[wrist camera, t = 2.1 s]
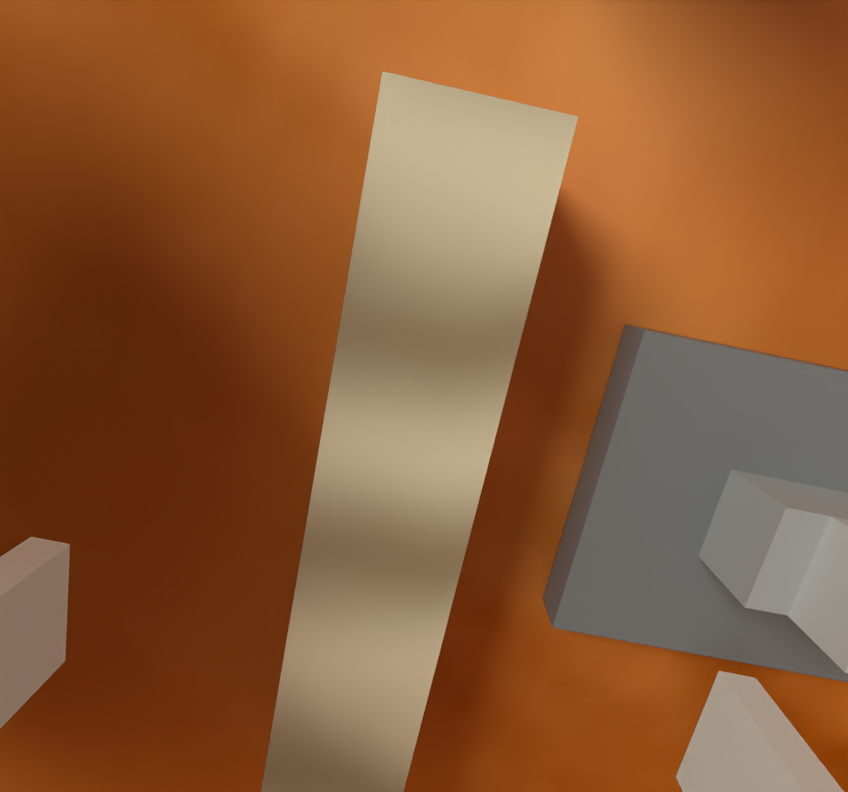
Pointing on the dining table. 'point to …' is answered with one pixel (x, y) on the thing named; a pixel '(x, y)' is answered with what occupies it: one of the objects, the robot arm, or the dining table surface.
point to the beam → (410, 421)
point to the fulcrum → (712, 508)
